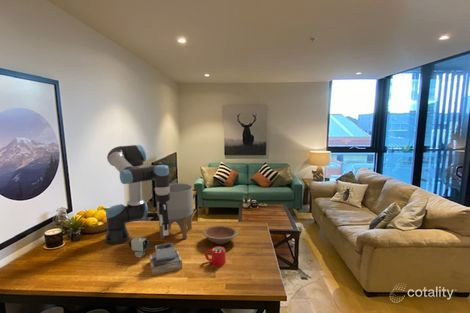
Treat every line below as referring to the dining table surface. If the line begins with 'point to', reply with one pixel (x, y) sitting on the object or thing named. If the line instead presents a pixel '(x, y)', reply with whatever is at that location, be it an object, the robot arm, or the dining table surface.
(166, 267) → the stand
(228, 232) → the bowl
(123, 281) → the dining table surface
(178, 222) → the planter
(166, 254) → the housing
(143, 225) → the dining table surface
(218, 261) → the mug
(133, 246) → the pneumatic valve
